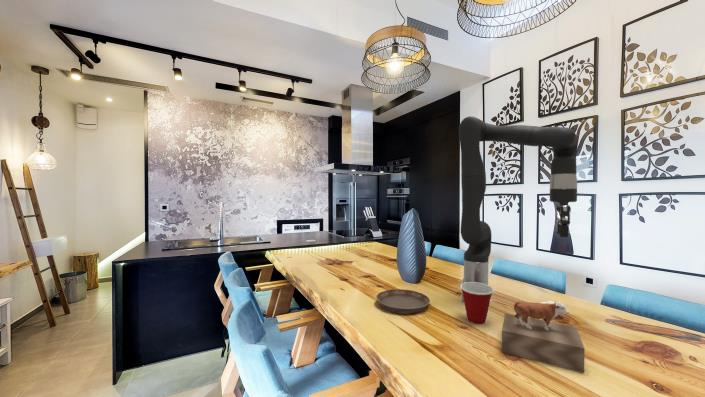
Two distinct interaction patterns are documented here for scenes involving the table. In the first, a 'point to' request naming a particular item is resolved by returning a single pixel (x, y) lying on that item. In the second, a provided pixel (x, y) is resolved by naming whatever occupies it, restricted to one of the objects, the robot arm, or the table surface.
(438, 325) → the table surface
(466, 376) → the table surface
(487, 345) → the table surface
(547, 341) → the walnut block
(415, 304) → the plant saucer
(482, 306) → the plastic cup
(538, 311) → the bull figurine
